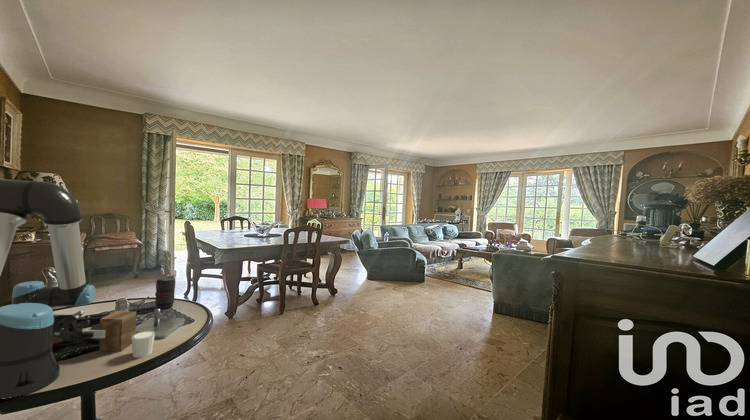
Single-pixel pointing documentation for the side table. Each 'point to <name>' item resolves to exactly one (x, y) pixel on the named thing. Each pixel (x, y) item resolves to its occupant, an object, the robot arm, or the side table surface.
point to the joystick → (160, 325)
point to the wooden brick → (117, 330)
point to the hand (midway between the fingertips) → (118, 326)
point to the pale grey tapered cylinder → (142, 343)
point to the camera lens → (165, 292)
